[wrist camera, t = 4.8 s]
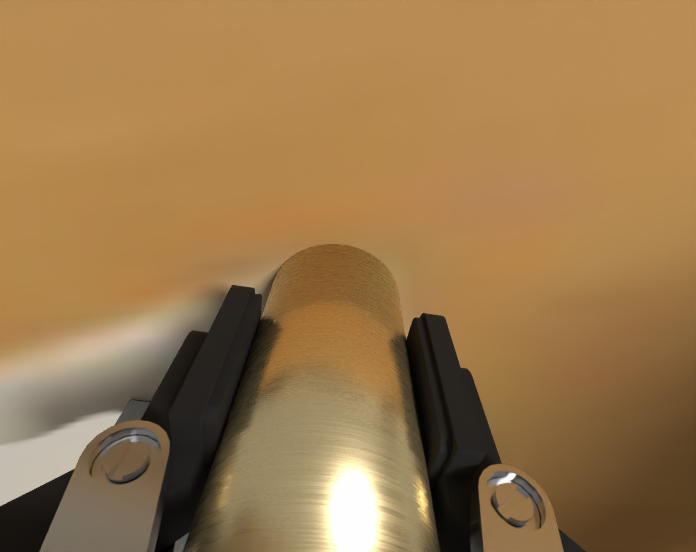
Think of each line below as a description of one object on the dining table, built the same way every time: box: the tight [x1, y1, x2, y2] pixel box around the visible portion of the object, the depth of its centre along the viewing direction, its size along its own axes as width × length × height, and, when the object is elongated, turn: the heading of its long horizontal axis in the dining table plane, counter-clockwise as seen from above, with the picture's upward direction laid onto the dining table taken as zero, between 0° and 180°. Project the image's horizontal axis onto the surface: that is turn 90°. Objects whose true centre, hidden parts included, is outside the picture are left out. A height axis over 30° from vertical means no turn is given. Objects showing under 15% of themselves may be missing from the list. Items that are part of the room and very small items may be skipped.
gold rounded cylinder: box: [183, 244, 440, 552], centre depth 9 cm, size 4×4×8 cm
